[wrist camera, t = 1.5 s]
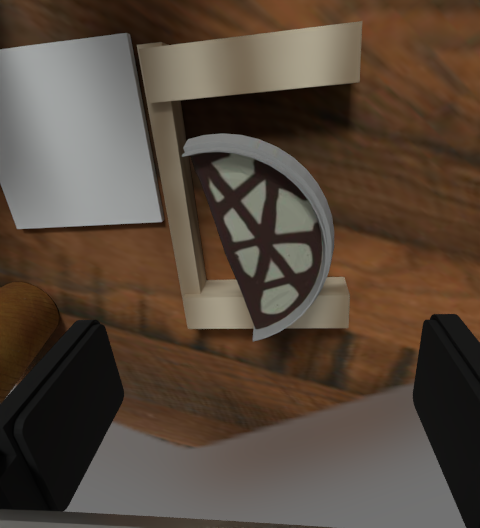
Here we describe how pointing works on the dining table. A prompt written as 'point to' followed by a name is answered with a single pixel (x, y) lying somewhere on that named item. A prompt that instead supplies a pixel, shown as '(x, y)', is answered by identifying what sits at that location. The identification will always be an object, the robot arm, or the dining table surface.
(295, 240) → the food container
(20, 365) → the disposable coffee cup
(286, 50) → the maple holder
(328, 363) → the dining table surface
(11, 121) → the grey mat
